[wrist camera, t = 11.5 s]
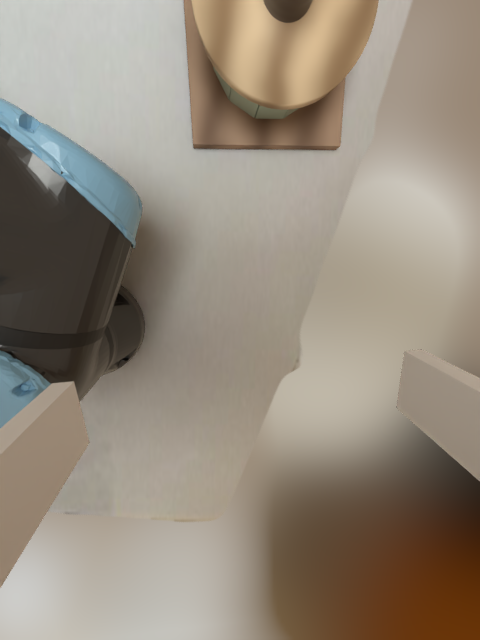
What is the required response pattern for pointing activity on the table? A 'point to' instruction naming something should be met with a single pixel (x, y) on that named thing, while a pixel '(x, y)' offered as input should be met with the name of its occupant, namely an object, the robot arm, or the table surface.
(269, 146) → the serving board
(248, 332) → the table surface
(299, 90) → the lid
